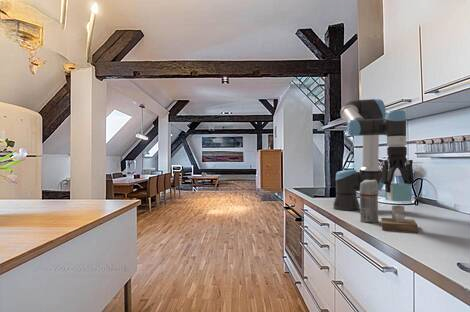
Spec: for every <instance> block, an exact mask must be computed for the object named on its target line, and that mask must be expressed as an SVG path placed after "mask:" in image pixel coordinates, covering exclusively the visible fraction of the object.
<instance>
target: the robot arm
mask: <svg viewBox="0 0 470 312" xmlns="http://www.w3.org/2000/svg"><path fill="white" fill-rule="evenodd" d="M339 115H340V118H341V119H342V120H343V121H345V122H346V132H347V135H348V136H351V137H352V136H353V137H354V136H355V137H358V136H359V137H360V136H362V165H361V167H359V171H357V170H356V169H347V170H340V171H337V172H336V173H335V195H336V196H335V198H334V202H333V205H332V207H333V209H334V210H337V211H338V210H339V211H358V210H359V211H360V201H359V200H358V196H357V192H360V183H361V182H363V181H364V180H377V182H378V192H380V191H382V190H383V187H384V186H385V185H386V192H387V200H386V201H391V200H393V185H391V183H392V181H393V178H394V176H395V173H396V172H395V171H396V170H397V169H398V171H399V172H400V175H401V177H402V181H403V184H411V185H412V184H413V183H415V178H414V169H413V162H414V161H413V159H408V158H407V157H406V156H407V155H408V152H407V151H408V148H407V114H406V111H405V110H403V109H396V110H390V111H389V110H388V111H386V106H385V103H384V101H383V100H382V99H379V98H372V99H353V100H350V101H348V102H346V103H344V105H342V107H341V108H340V111H339ZM380 136H386V146H387V148H386V155H387V156H388V157H387V159H384V160H381V165H382V166H381V167H379V153H380V151H379V147H380V146H379V145H380Z"/></svg>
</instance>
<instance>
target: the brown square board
mask: <svg viewBox="0 0 470 312" xmlns="http://www.w3.org/2000/svg"><path fill="white" fill-rule="evenodd" d="M405 214H406V213H405V206H404V205H399V204H398V205H391V217H381V219H380V220H381V230H382V231H387V232H400V233H401V232H402V233H415V234H418V233H419V231H418V230H419V227H418V223H417V222H416V220H415V219H414V218H413V219H411V218H410V219H409V218H405Z"/></svg>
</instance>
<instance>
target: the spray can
mask: <svg viewBox="0 0 470 312" xmlns="http://www.w3.org/2000/svg"><path fill="white" fill-rule="evenodd" d="M378 199H379V191H378V182H377V180H364V181H363V182H361V183H360V191H359V205H360V209H359V212H360V213H359V214H360V217H359V218H360V221H361V222H362V223H363V222H364V223H367V224H368V223H369V224H370V223H371V224H372V223H373V224H374V223H379V201H378Z"/></svg>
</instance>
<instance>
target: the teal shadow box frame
mask: <svg viewBox="0 0 470 312" xmlns="http://www.w3.org/2000/svg"><path fill="white" fill-rule="evenodd" d="M391 185H393V200H390V201H391V202H392V201H393V202H412V184H404V183H394V182H393V183H392V182H391ZM384 192H385V193H384V194H385V196H384V197H385V200H386V201H388V200H387V192H386V185H385V184H384Z"/></svg>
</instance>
